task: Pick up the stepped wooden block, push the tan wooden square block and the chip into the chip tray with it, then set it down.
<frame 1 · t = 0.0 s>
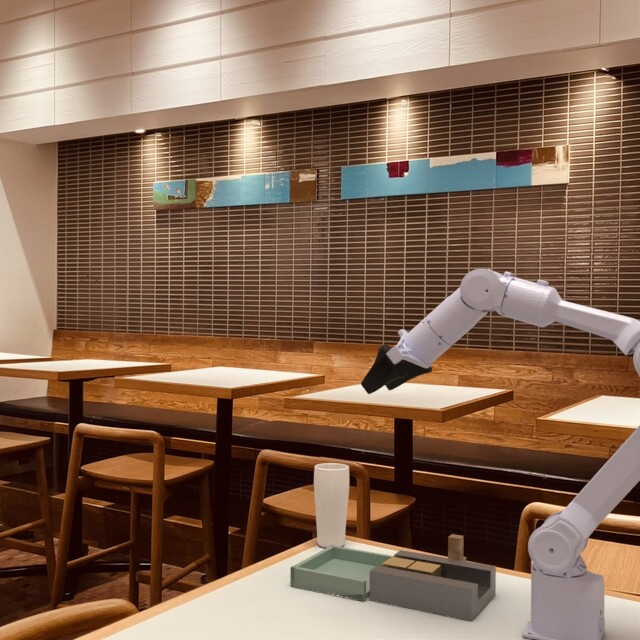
hand: (375, 387, 115), 32 cm above the table, tool tilted 50°, fingers open, 7 cm apart
chip a: (424, 582, 115), point 2 cm above the table, touching slot bar
chip tray: (346, 580, 121), on the table
stepped wooden block: (455, 575, 125), on the table
slot bar: (433, 597, 114), on the table
drinking glass: (331, 546, 141), on the table
tan wooden square block: (398, 578, 117), point 2 cm above the table, touching slot bar
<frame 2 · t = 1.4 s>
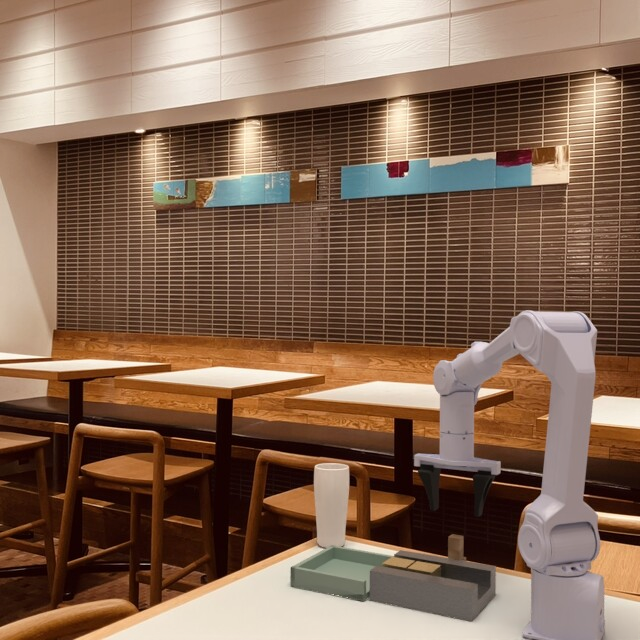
hand: (456, 512, 125), 10 cm above the table, tool pointing down, fingers open, 7 cm apart
nothing on the table moved.
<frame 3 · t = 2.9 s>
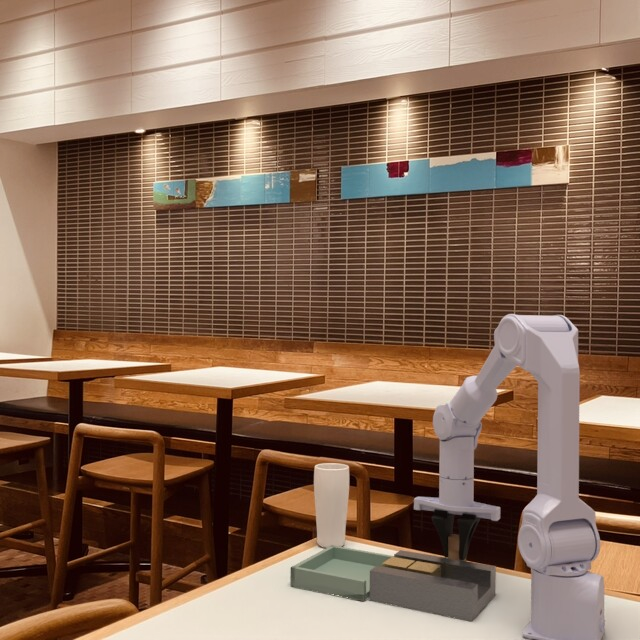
hand: (455, 557, 125), 3 cm above the table, tool pointing down, fingers closed on stepped wooden block, 2 cm apart
stepped wooden block: (455, 574, 125), on the table, touching gripper
everything else where it was.
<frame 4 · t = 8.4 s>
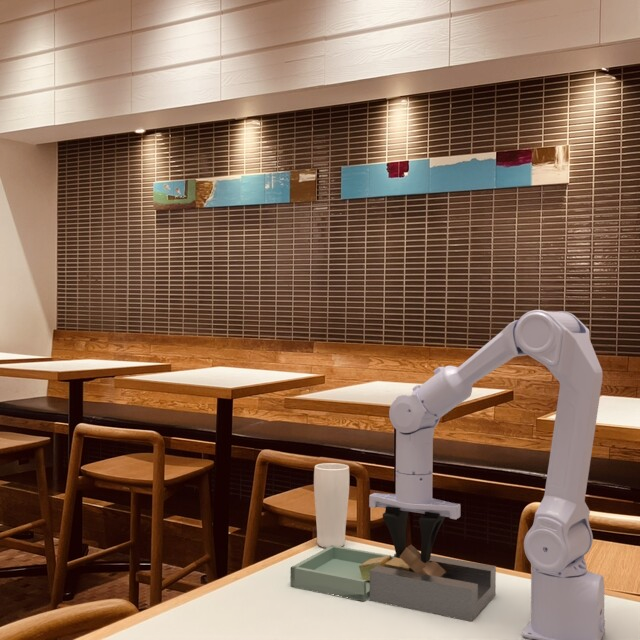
hand: (413, 558, 116), 5 cm above the table, tool pointing down, fingers closed on stepped wooden block, 3 cm apart
chip a: (401, 578, 117), point 2 cm above the table, touching stepped wooden block
stepped wooden block: (436, 580, 113), point 3 cm above the table, tilted 54°, touching chip a, gripper, slot bar
tan wooden square block: (379, 576, 119), point 2 cm above the table, tilted 19°, touching chip tray
everything else where it was.
when the fingers open (6 cm above the table, at t = 9.2 s): stepped wooden block stays where it is, resting on chip a, slot bar.
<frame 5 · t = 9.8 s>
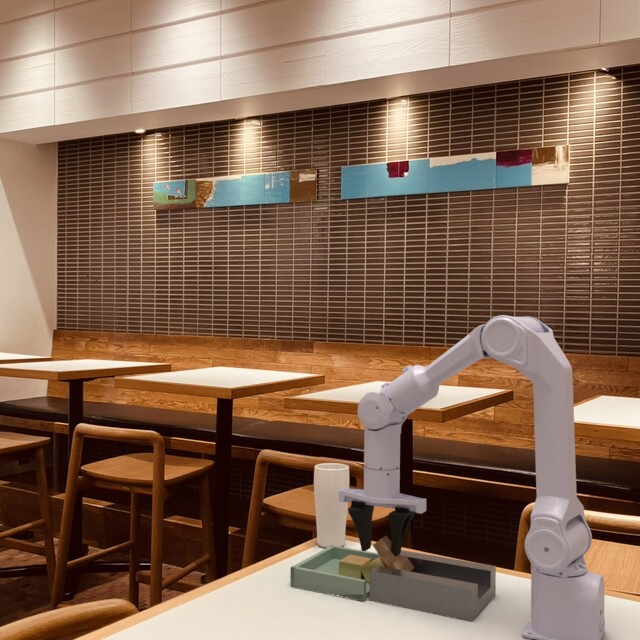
hand: (380, 552, 119), 6 cm above the table, tool pointing down, fingers open, 5 cm apart
chip a: (382, 574, 118), point 2 cm above the table, tilted 33°, touching chip tray, stepped wooden block
stepped wooden block: (404, 575, 116), point 3 cm above the table, tilted 41°, touching chip a, gripper, slot bar
tan wooden square block: (355, 575, 121), point 1 cm above the table, touching chip tray
everything else where it was.
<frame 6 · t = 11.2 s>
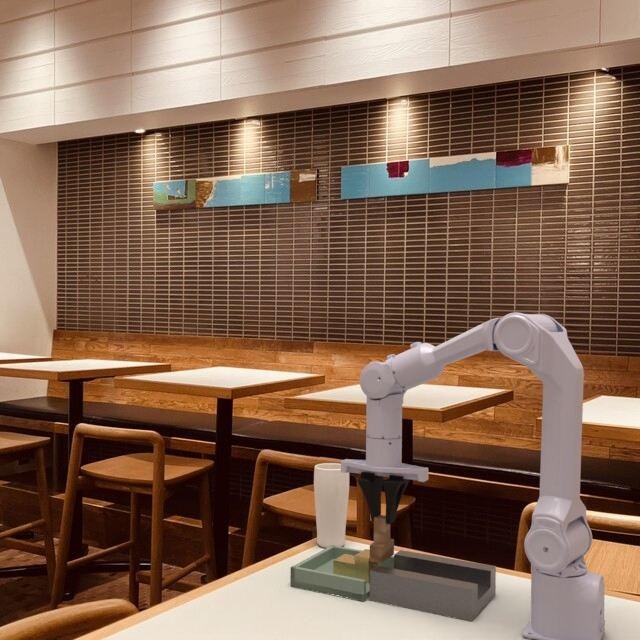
hand: (383, 521, 119), 10 cm above the table, tool pointing down, fingers closed on stepped wooden block, 2 cm apart
chip a: (374, 567, 119), point 3 cm above the table, tilted 90°, touching chip tray
stepped wooden block: (381, 557, 119), point 5 cm above the table, touching gripper
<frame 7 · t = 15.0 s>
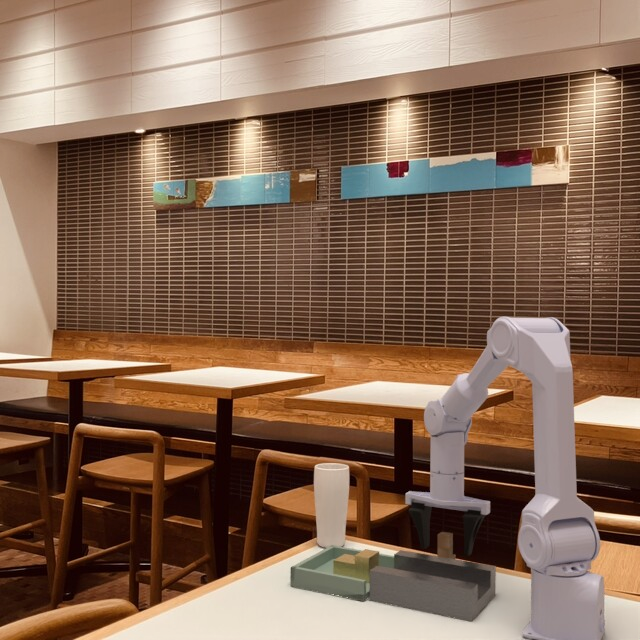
hand: (446, 551, 127), 3 cm above the table, tool pointing down, fingers open, 7 cm apart
stepped wooden block: (444, 572, 126), on the table
everything else where it was.
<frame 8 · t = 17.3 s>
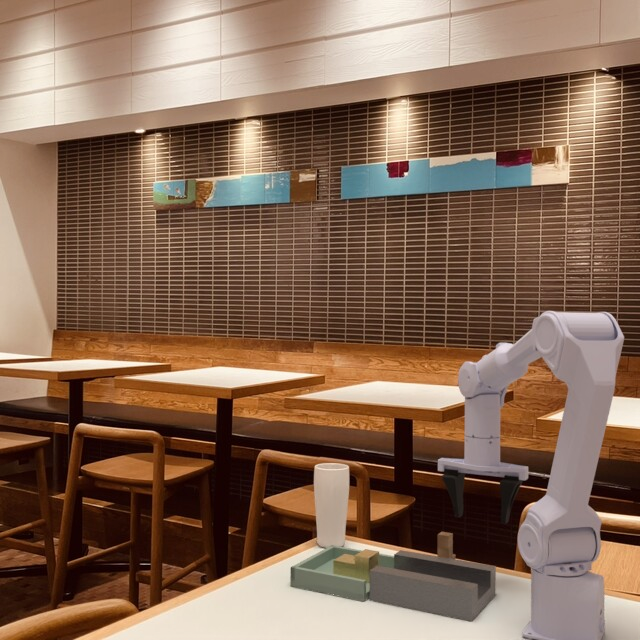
hand: (481, 519, 121), 10 cm above the table, tool pointing down, fingers open, 7 cm apart
nothing on the table moved.
at the end: chip a inside the target area on the chip tray (4.7 cm from its centre), point 3.0 cm above the chip tray's base; tan wooden square block inside the target area on the chip tray (0.3 cm from its centre), point 1.0 cm above the chip tray's base; stepped wooden block inside the target area (0.5 cm from its centre), on the table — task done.
